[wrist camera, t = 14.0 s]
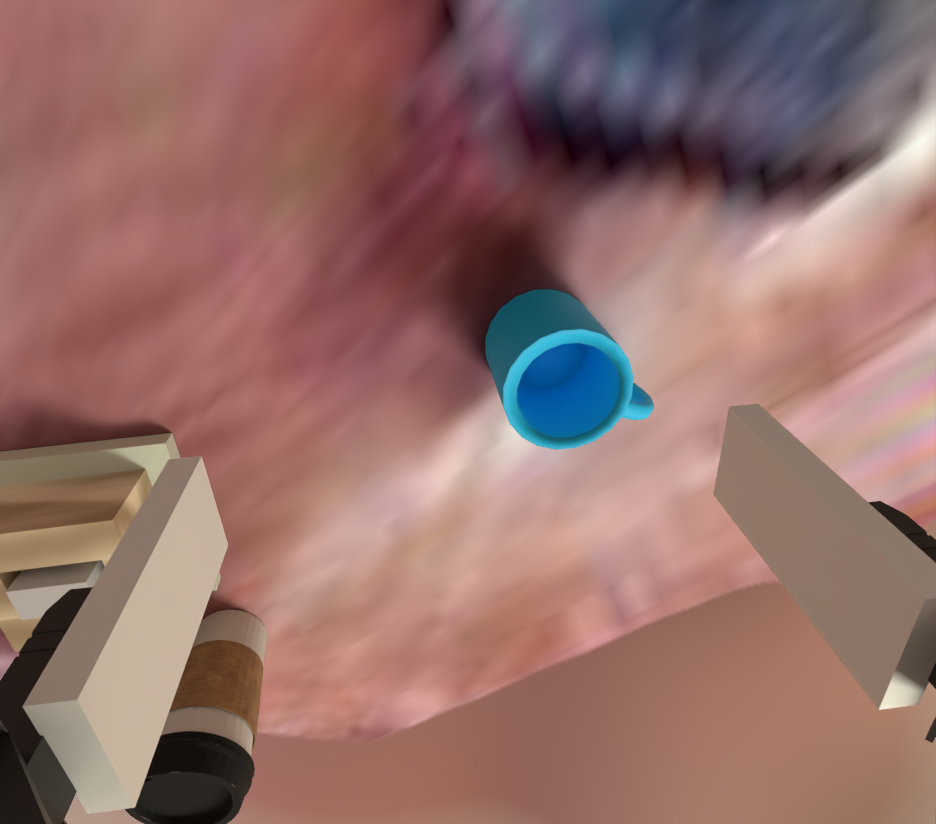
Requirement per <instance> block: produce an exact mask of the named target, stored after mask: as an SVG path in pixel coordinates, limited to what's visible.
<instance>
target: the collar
mask: <svg viewBox="0 0 936 824" xmlns="http://www.w3.org/2000/svg"><path fill="white" fill-rule="evenodd" d="M152 487H153V486H152V484H151V481H150V479H149V476H148V473H147V471H146V469H140V470H132V471H123V472H115V473H106V474H98V475H90V476H81V477H73V478H64V479H56V480H47V481H39V482H31V483H22V484H14V485H5V486H1V487H0V627H1V629H2V631H3V632H4V634H5V636H6V637H7V639H8V641H9V642H10V644H11V645H12V647H13V649H14V650H15V652H18V651H20V650H21V648H22V647H23V645H24V644H25V642H26V641H27V639H28V638H31V636H32V632H33V630H34V629H35V627H36V625H37V624H38V622H39V621H40V619H41V618H34V619H26V620H21V619H20V617H19V615H18V613H17V612H16V610H15V608H14V606H13V605H12V603H11V601H10V599H9V598H8V596H7V594H6V591H7V589H8V588H9V587H10V585H11V584H12V583H13V581H14V580H15V579H16V578H17V576H18V575H19V574H20V572H21V571H22V570H27V569H35V568H43V567H50V566H58V565H66V564H74V563H82V562H90V561H98V560H102V562H103V564H104V566H106V564H107V563H108V561H109V559H110V558H111V556H112V554H113V553H114V551H115V549H116V547H117V546H118V544H119V542H120V541H121V539H122V537H123V536H124V534H125V532H126V531H127V529H128V527H129V525H130V524H131V522H132V520H133V519H134V517H135V515H136V514H137V512H138V510H139V509H140V507H141V505H142V504H143V502H144V500H145V498H146V497H147V495H148V493H149V492H150V490H151V488H152Z"/></svg>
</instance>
